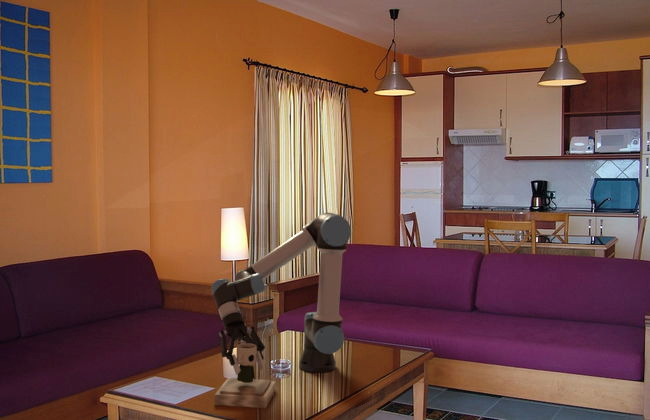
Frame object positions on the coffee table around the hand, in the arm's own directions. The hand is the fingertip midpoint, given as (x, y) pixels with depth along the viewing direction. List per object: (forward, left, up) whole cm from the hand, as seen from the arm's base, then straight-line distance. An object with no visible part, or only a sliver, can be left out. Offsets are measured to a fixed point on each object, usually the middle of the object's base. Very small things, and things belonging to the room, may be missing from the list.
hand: (250, 370), depth 237 cm
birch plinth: (+2, -2, -11) cm, 11 cm away
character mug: (+2, -2, -5) cm, 6 cm away
